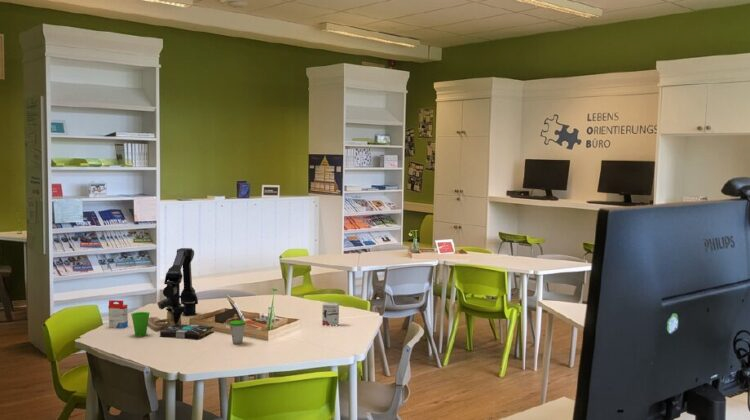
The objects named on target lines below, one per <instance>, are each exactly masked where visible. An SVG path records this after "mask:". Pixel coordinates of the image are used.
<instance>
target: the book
mask: <svg viewBox="0 0 750 420" xmlns="http://www.w3.org/2000/svg"><path fill="white" fill-rule="evenodd" d="M214 328H215V326H214V325H212V326H211V325H210V326H207V325H201V324H182V323H181V324H178V323H177V325H175V326H173V327H170V326H169V327H168V329H166V330H161V331H159V337H160V338H162V337H163V338H174V339H188V340H189V339H191V340H199V341H200V339H203V338H205V337H206V336H208V335H209V334H212V333H214V330H213V329H214Z"/></svg>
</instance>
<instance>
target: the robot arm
mask: <svg viewBox="0 0 750 420" xmlns="http://www.w3.org/2000/svg"><path fill="white" fill-rule="evenodd" d="M194 257H195V250H194V249H193V248H191V247H187V248H185V247H184V248H183V247H181V248H178V249H176V255H175V258H174V261H173V263H172V265H171V266H170V267H169V268H168V270H167V272H166V273H165V278H164V282H163V283H164V285H166V287H164V288H163V290H162V295H163V296H164V297H165V299H162V300H160V301H158V302H157V303H156V304H157V307H158V309H160V310H164V309H165V310H166V312H167V311H172V312H171V313H172V314H173V316H174V322H175V324H177V323H178V320H179V318H180V316H181V317H182V315H184V317H185V316H186V317H188V316H196V315H198V314H197V313H196V312H197V311H196V306H197V305H198V304H199V299H198V295H197V294H196V290H195V288H194V287H193V282H192V281H193V280H192V279H193V278H192V261H193V259H194ZM182 280H183V289H182V291H181V290H180V287H181V286H180V284H181V283H182ZM180 291H181V293H180Z"/></svg>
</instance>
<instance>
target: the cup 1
mask: <svg viewBox="0 0 750 420" xmlns="http://www.w3.org/2000/svg"><path fill="white" fill-rule="evenodd" d="M150 314H151V313H150V312H148V311H137V312H132V313H130V315H131V318H132V326H133V331H134V335H135V337H145V336H146V335H147V331H148V326H147V325H148V319H149V318H150Z"/></svg>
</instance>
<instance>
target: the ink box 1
mask: <svg viewBox="0 0 750 420" xmlns="http://www.w3.org/2000/svg"><path fill="white" fill-rule="evenodd" d="M128 312H129V310H128V304H124V300H115V299H113V300H111V299H110V300H108V328H109V327H116V328H115V329H124V328H127V327H128V326H129V323H128V322H129V321H128V318H129V317H128V316H129V315H128V314H129V313H128Z"/></svg>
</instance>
